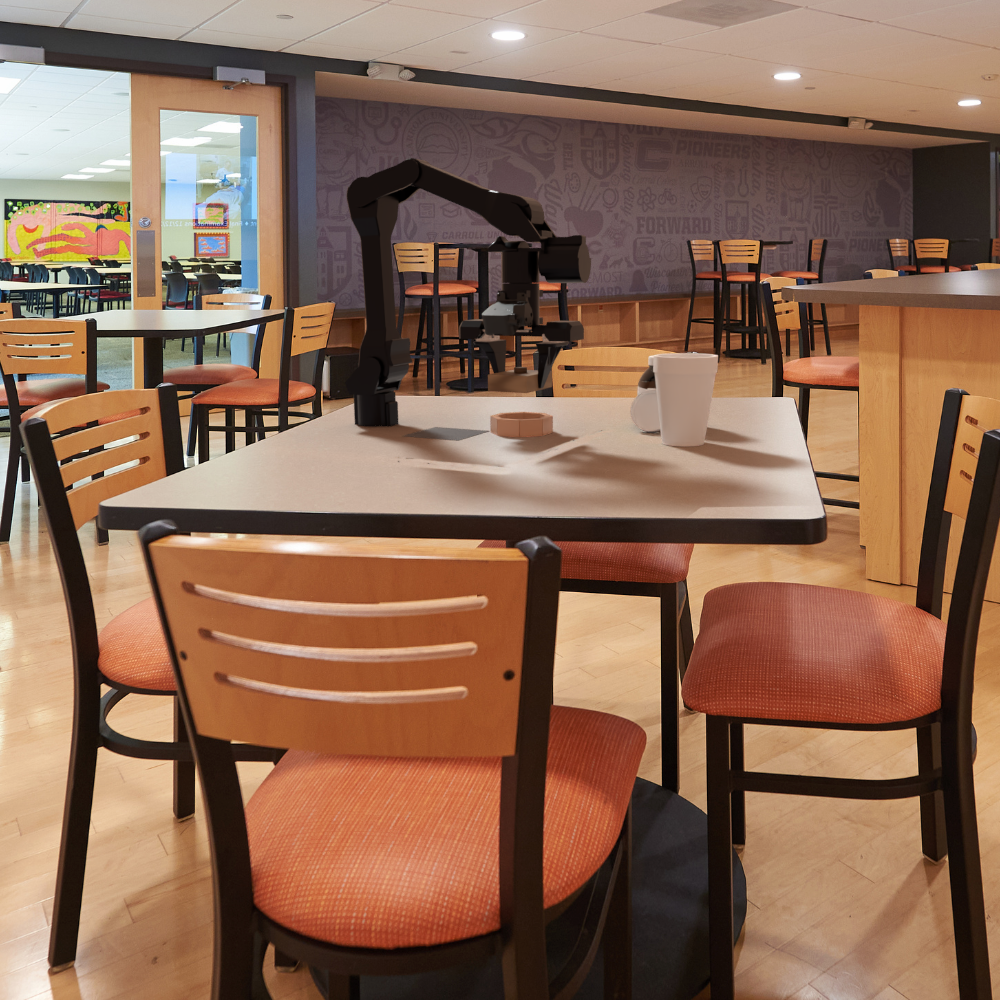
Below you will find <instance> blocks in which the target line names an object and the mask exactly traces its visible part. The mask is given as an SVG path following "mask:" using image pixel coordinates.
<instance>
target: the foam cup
mask: <svg viewBox="0 0 1000 1000" xmlns="http://www.w3.org/2000/svg"><path fill="white" fill-rule="evenodd" d="M718 363H719V355H718V354H712V353H697V352H695V353H694V352H693V353H691V352H687V353H686V352H683V353H682V352H677V353H671V352H670V353H657V354H654V358H653V372H655V382H656V392H657V401H658V411H659V421H660V431H659V432H660V439H661V444H663V445H666V446H671V447H698V446H699V447H700V446H703V445H705V440H706V436H707V429H708V423H709V418H710V417H709V416H710V411H711V405H712V401H713V399H712V398H713V393H714V387H715V382H716V381H715V380H716V375H717V373H718V368H719V365H718Z"/></svg>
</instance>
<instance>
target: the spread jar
mask: <svg viewBox="0 0 1000 1000" xmlns="http://www.w3.org/2000/svg"><path fill="white" fill-rule="evenodd" d="M654 355H655V354H654ZM654 355H649V356H648V362H647V364H648V365H647V366H648V367H647V369H645V370H644V372H643V373H642V375H640V378H639V380H638V383H637V395H636V397H635V398H634V399H633V401H632V403H631V406H630V412H629V414H630V417H631V421H632V423H633V424H634V425H635V427H637V428H638V429H640V430H641V431H642V432H646V433H652V434H653V433H658V432H661V431H660V421H659V411H658V401H657V392H656V382H655V372H653V358H654Z"/></svg>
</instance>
